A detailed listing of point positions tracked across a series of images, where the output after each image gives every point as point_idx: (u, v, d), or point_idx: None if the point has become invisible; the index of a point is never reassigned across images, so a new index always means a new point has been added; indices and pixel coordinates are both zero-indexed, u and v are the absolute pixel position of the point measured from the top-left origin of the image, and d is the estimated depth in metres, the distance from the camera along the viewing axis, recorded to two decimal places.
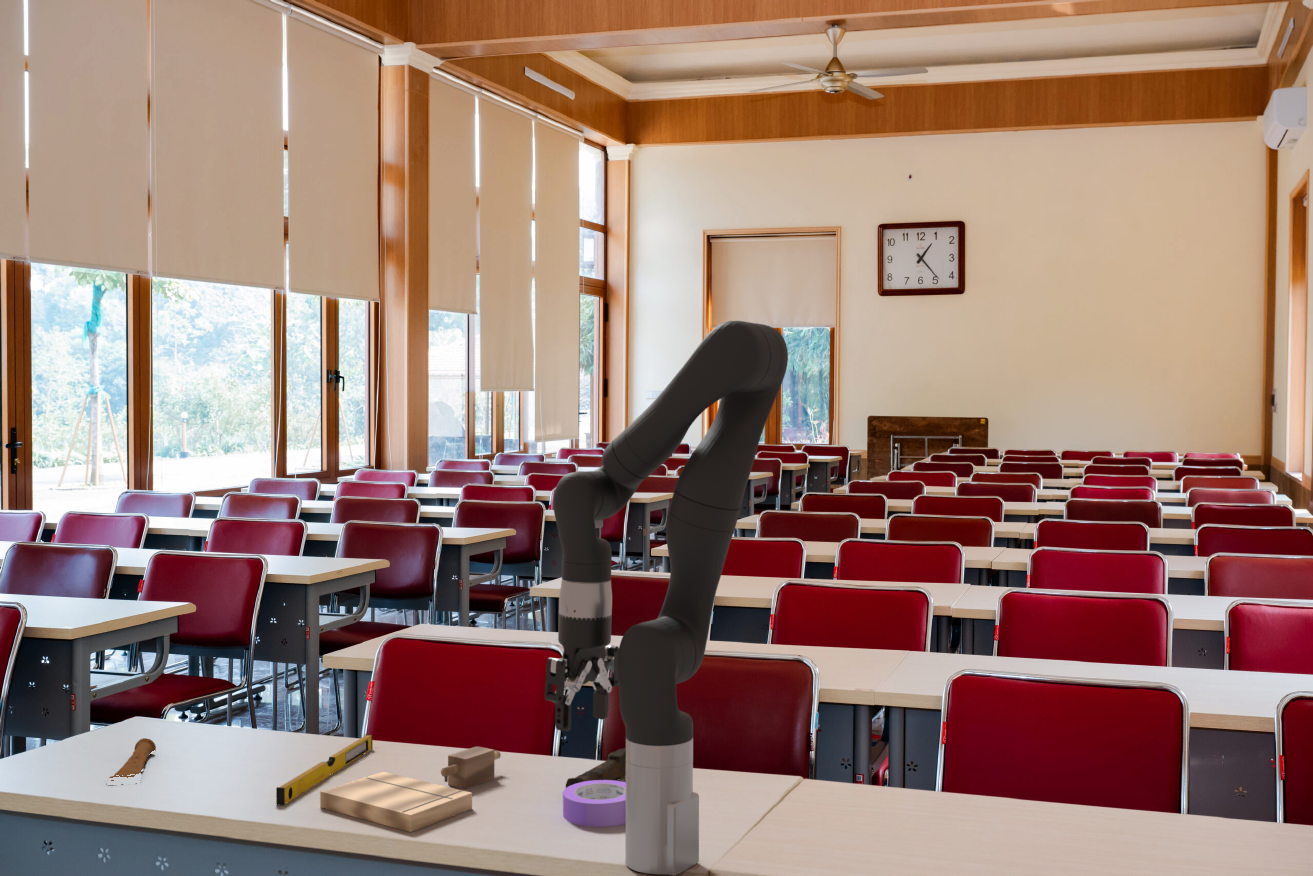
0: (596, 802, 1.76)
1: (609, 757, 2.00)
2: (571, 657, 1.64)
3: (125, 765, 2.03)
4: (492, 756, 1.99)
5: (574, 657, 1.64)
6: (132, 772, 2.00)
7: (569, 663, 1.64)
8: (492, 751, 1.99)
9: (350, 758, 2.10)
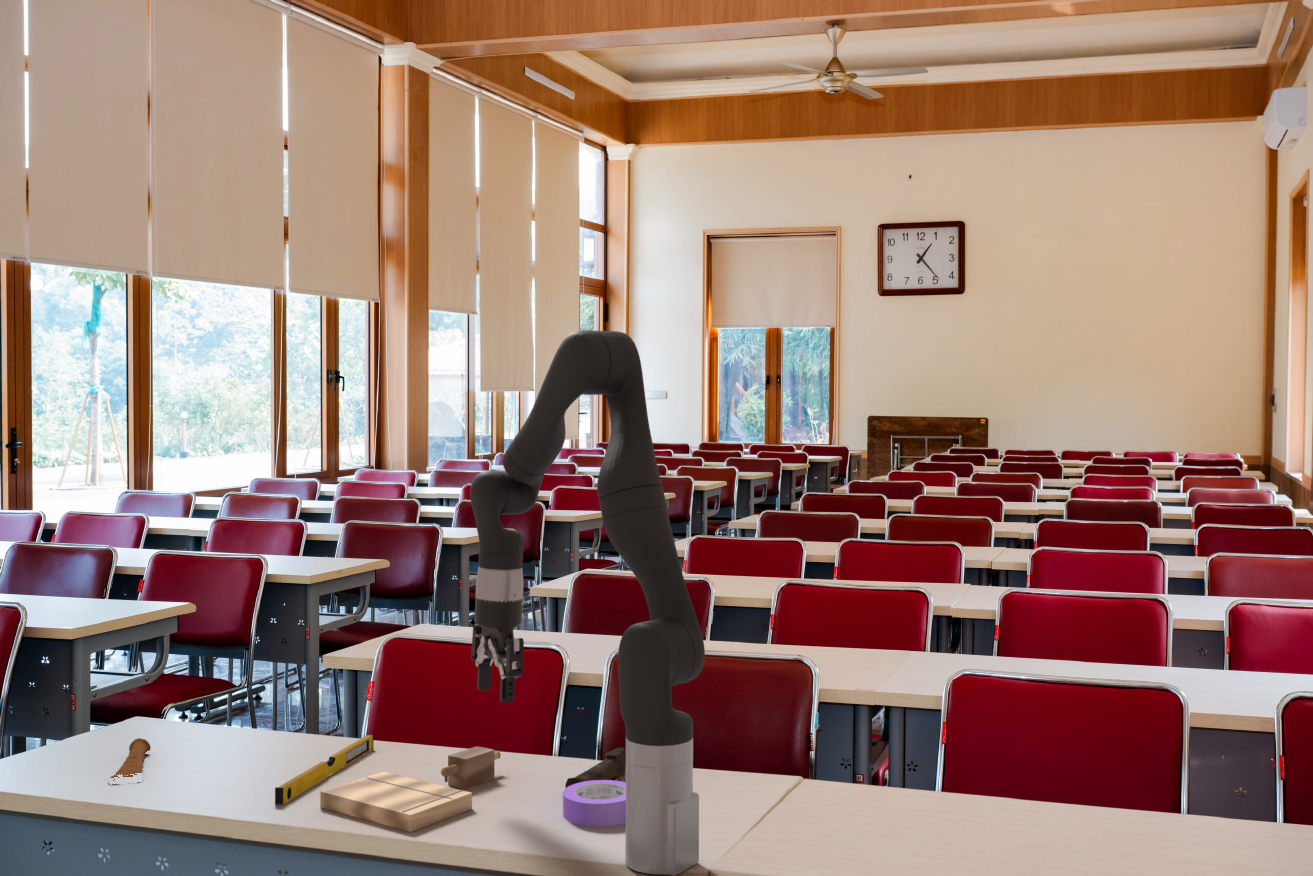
0: (596, 802, 1.76)
1: (606, 756, 2.00)
2: (513, 636, 1.86)
3: (124, 765, 2.03)
4: (492, 756, 1.99)
5: (513, 635, 1.86)
6: (133, 771, 2.00)
7: None
8: (492, 751, 1.99)
9: (350, 758, 2.10)
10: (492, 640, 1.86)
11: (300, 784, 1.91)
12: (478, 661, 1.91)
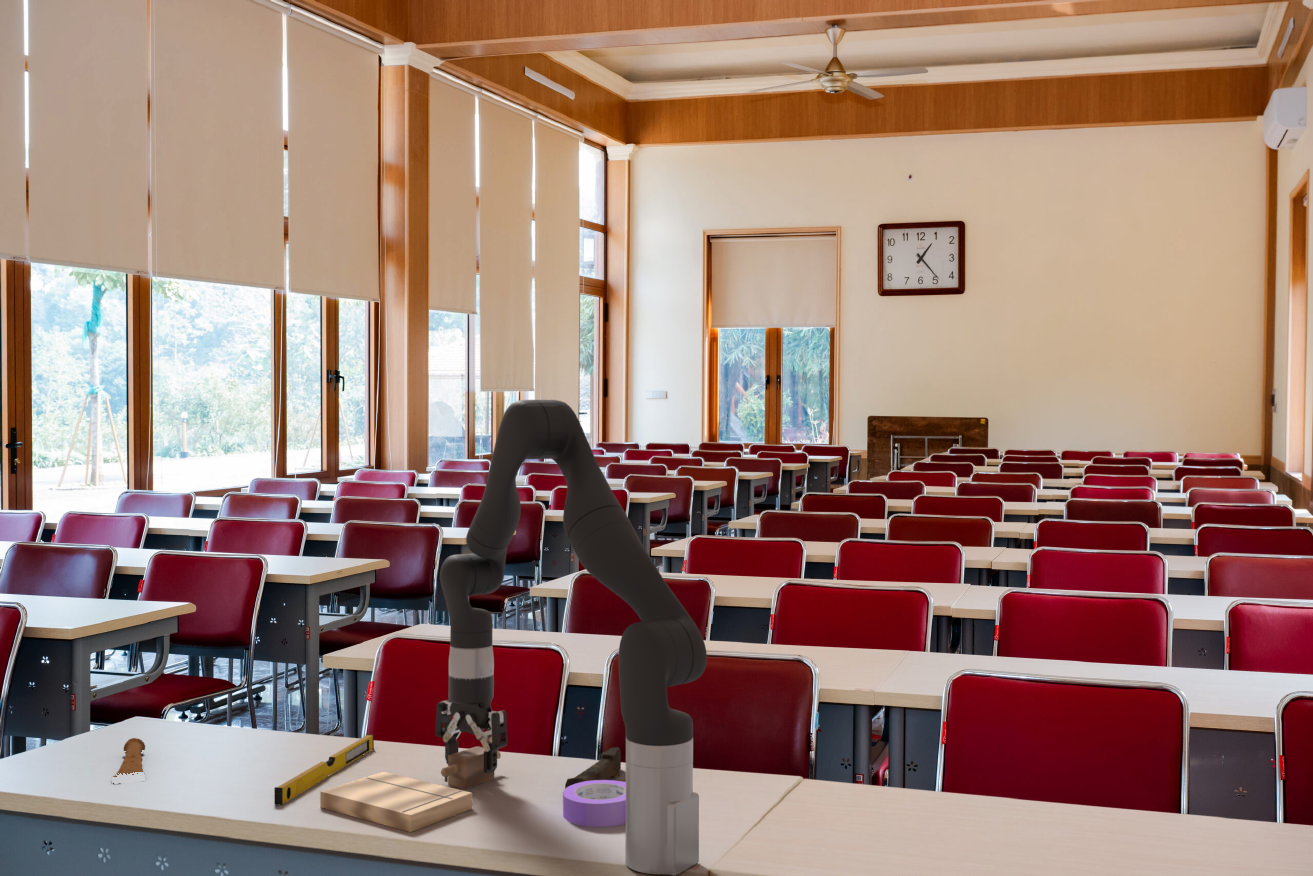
0: (596, 802, 1.76)
1: (602, 756, 2.00)
2: (491, 709, 1.97)
3: (124, 764, 2.04)
4: None
5: None
6: (134, 771, 2.01)
7: None
8: None
9: (351, 758, 2.10)
10: (471, 715, 1.96)
11: (300, 784, 1.91)
12: (447, 737, 2.00)
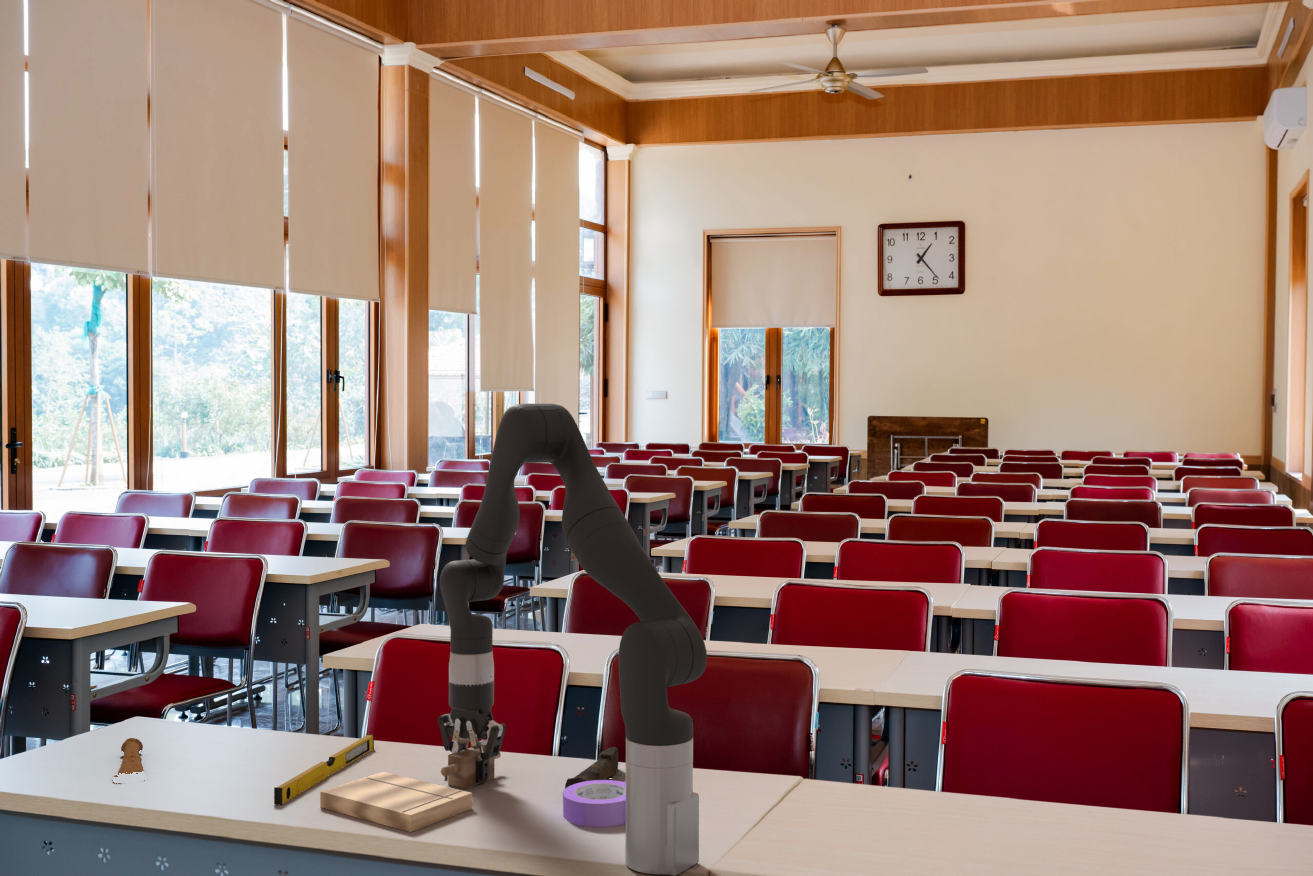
0: (596, 802, 1.76)
1: (600, 756, 2.00)
2: (492, 717, 1.96)
3: (124, 764, 2.04)
4: None
5: None
6: (135, 770, 2.01)
7: None
8: None
9: (351, 758, 2.10)
10: (472, 723, 1.96)
11: (299, 784, 1.91)
12: (456, 751, 1.98)
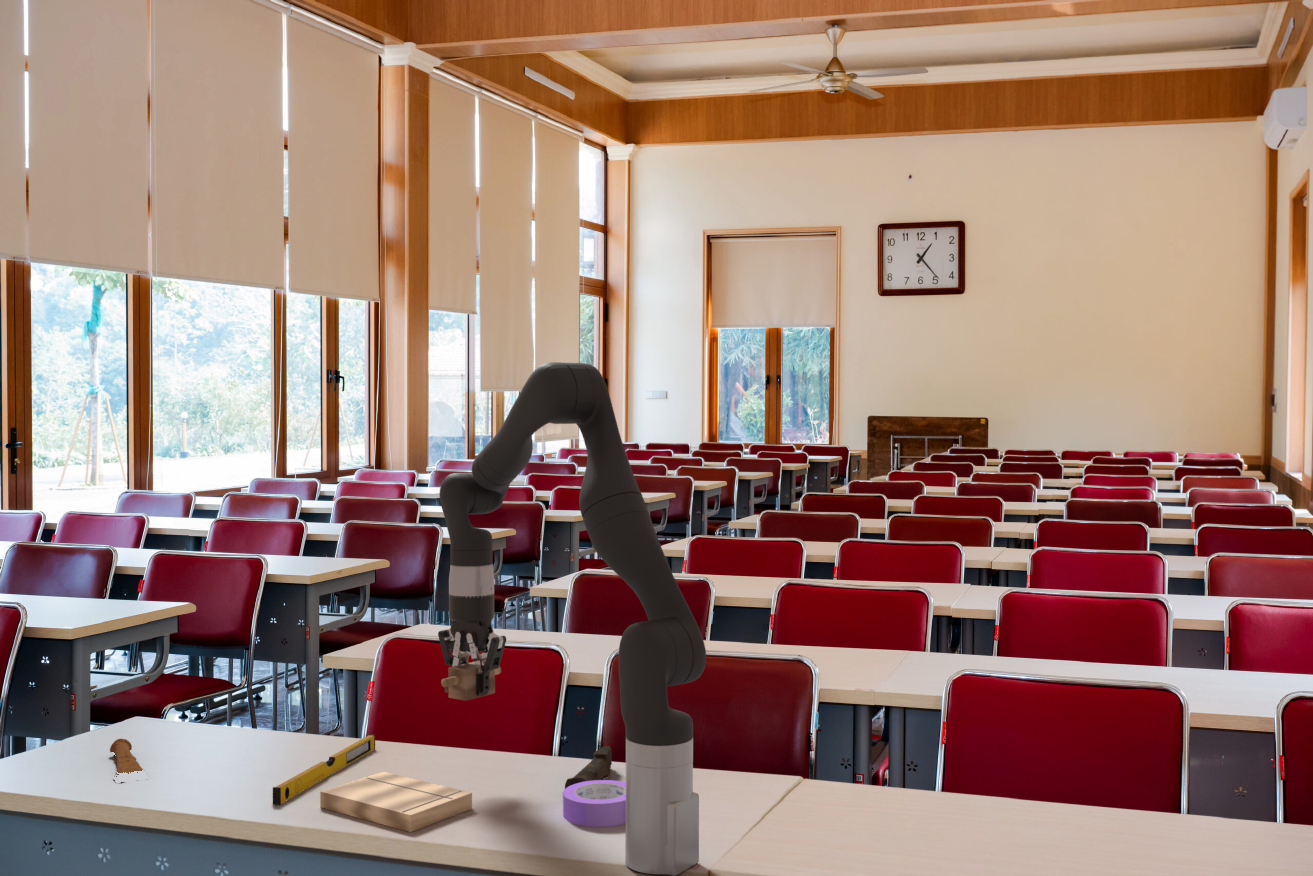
0: (596, 802, 1.76)
1: (595, 756, 2.00)
2: None
3: (120, 764, 2.04)
4: (492, 670, 1.99)
5: None
6: (134, 769, 2.02)
7: None
8: None
9: (351, 758, 2.10)
10: (472, 635, 1.95)
11: (298, 784, 1.91)
12: (457, 664, 1.98)
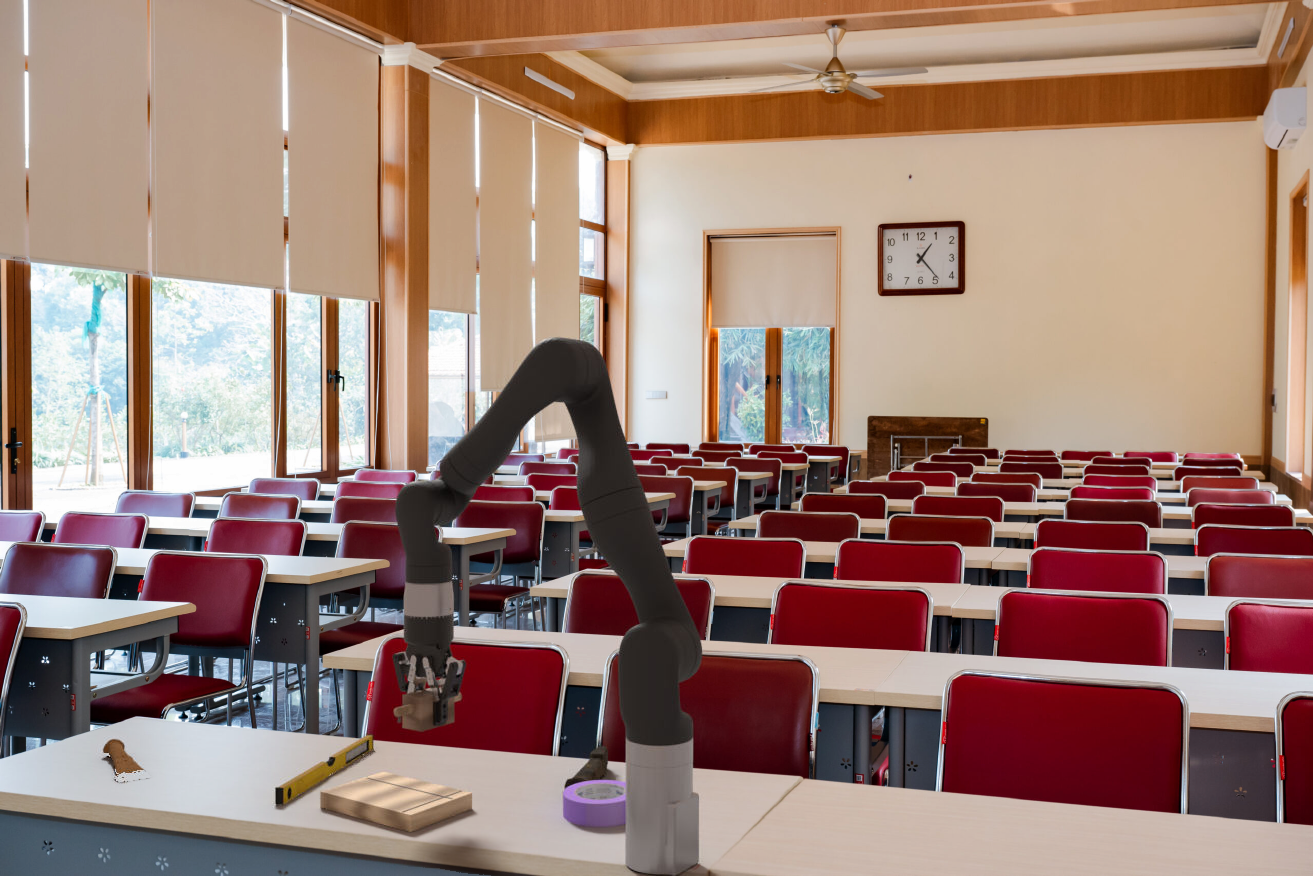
0: (596, 802, 1.76)
1: (592, 755, 2.00)
2: (451, 654, 1.78)
3: (118, 764, 2.04)
4: None
5: None
6: (134, 769, 2.02)
7: None
8: None
9: (350, 758, 2.10)
10: (429, 659, 1.77)
11: (300, 784, 1.91)
12: (412, 691, 1.80)
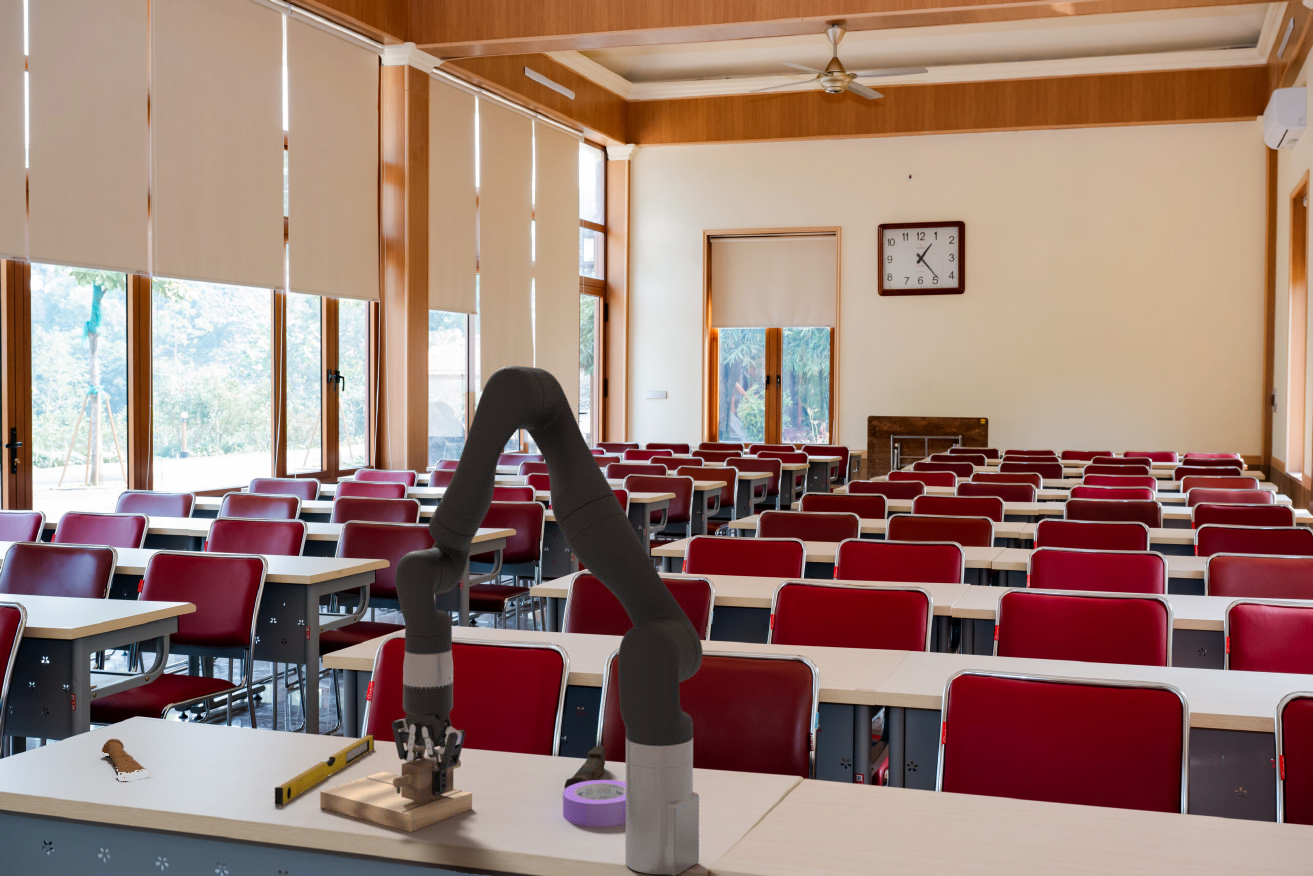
0: (596, 802, 1.76)
1: (590, 755, 2.00)
2: None
3: (119, 763, 2.04)
4: None
5: None
6: (136, 768, 2.02)
7: None
8: None
9: (351, 758, 2.10)
10: (428, 729, 1.78)
11: (300, 784, 1.91)
12: (411, 759, 1.80)
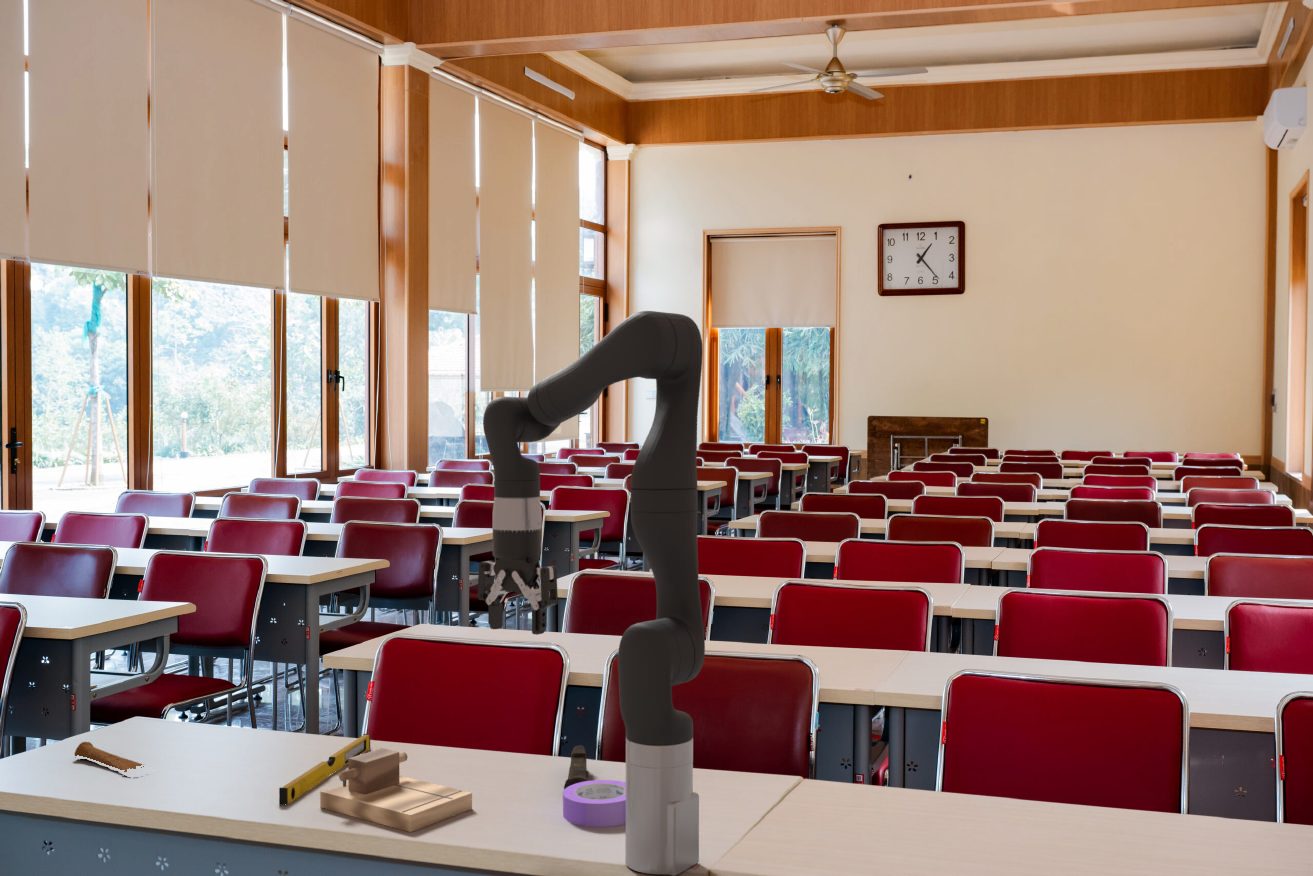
0: (596, 802, 1.76)
1: (574, 755, 2.00)
2: (539, 565, 1.80)
3: (114, 762, 2.05)
4: (397, 759, 1.88)
5: None
6: (136, 765, 2.04)
7: None
8: (397, 753, 1.88)
9: None
10: (518, 572, 1.79)
11: (303, 784, 1.91)
12: (491, 599, 1.83)
